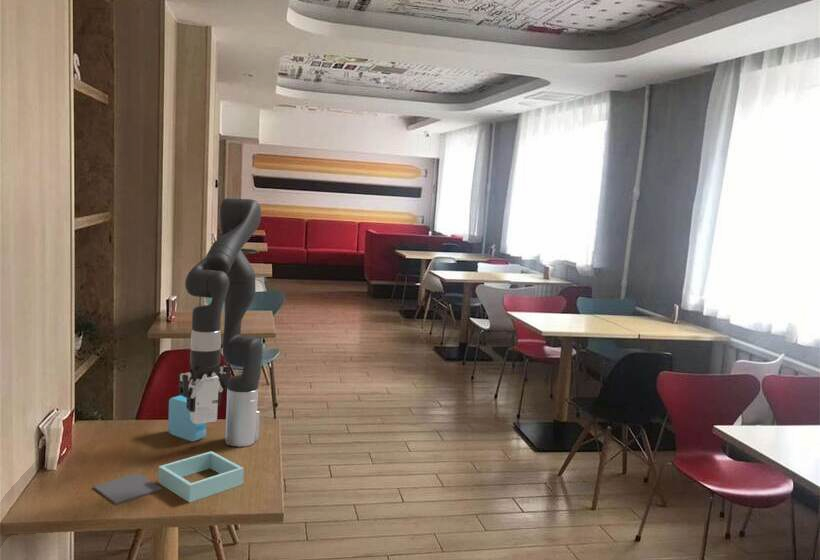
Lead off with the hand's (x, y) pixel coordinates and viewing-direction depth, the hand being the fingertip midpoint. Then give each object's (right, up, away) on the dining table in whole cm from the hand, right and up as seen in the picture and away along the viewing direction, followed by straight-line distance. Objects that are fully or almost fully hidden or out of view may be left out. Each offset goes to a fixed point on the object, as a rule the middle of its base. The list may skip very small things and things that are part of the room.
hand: (203, 408), depth 173 cm
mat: (-18, -20, -4) cm, 27 cm away
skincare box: (0, -3, +1) cm, 4 cm away
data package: (-16, -16, +34) cm, 41 cm away
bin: (-2, -20, +3) cm, 21 cm away
